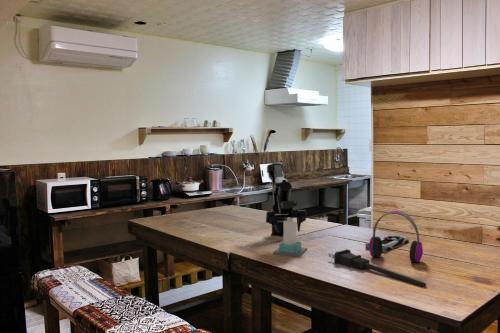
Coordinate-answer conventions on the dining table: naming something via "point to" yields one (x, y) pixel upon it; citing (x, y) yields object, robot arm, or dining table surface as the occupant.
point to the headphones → (415, 246)
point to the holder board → (290, 249)
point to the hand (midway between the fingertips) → (288, 232)
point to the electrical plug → (368, 266)
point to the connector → (289, 232)
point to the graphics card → (391, 242)
